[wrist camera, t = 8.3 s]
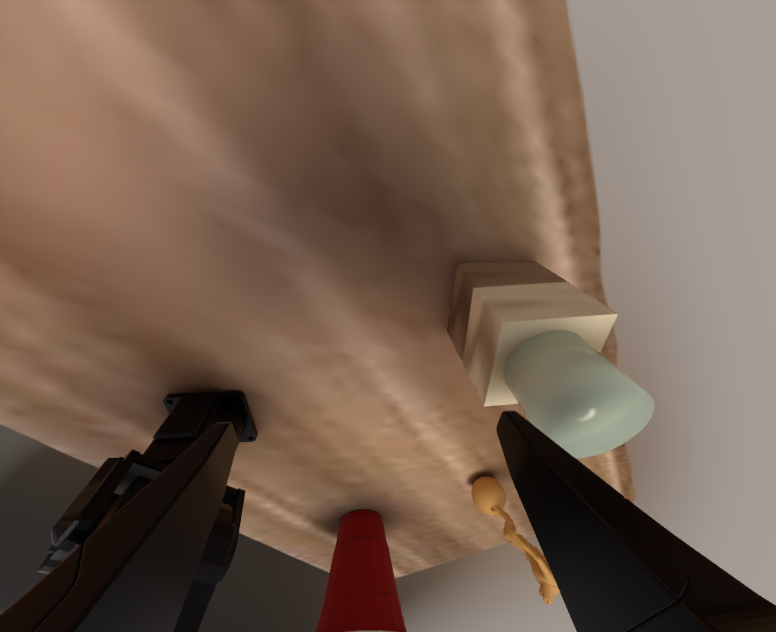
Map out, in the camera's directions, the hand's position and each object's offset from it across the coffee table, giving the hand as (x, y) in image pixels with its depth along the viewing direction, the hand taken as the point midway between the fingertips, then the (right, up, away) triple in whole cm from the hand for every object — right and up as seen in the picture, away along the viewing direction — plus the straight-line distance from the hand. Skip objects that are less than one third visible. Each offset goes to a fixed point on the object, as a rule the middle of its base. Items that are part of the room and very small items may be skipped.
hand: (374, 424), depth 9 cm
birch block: (+9, +3, +9) cm, 13 cm away
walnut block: (+9, +5, +13) cm, 16 cm away
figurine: (+14, -17, +27) cm, 35 cm away
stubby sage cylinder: (+9, +1, +6) cm, 11 cm away
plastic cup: (-3, -25, +30) cm, 39 cm away
